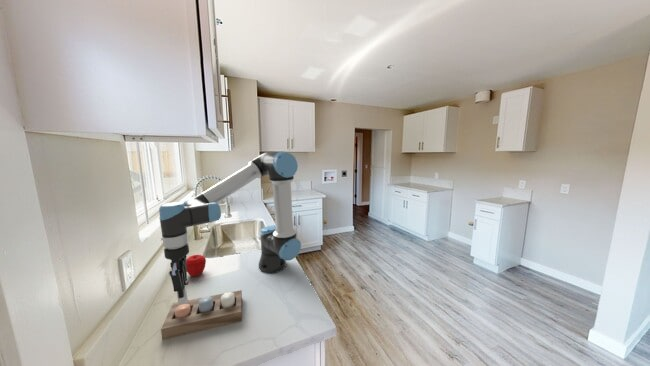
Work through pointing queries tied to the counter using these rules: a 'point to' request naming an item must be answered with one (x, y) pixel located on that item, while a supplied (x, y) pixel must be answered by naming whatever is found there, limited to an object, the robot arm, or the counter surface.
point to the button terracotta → (182, 311)
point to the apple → (195, 265)
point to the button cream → (227, 300)
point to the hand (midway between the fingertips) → (183, 303)
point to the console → (202, 317)
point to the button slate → (205, 304)
